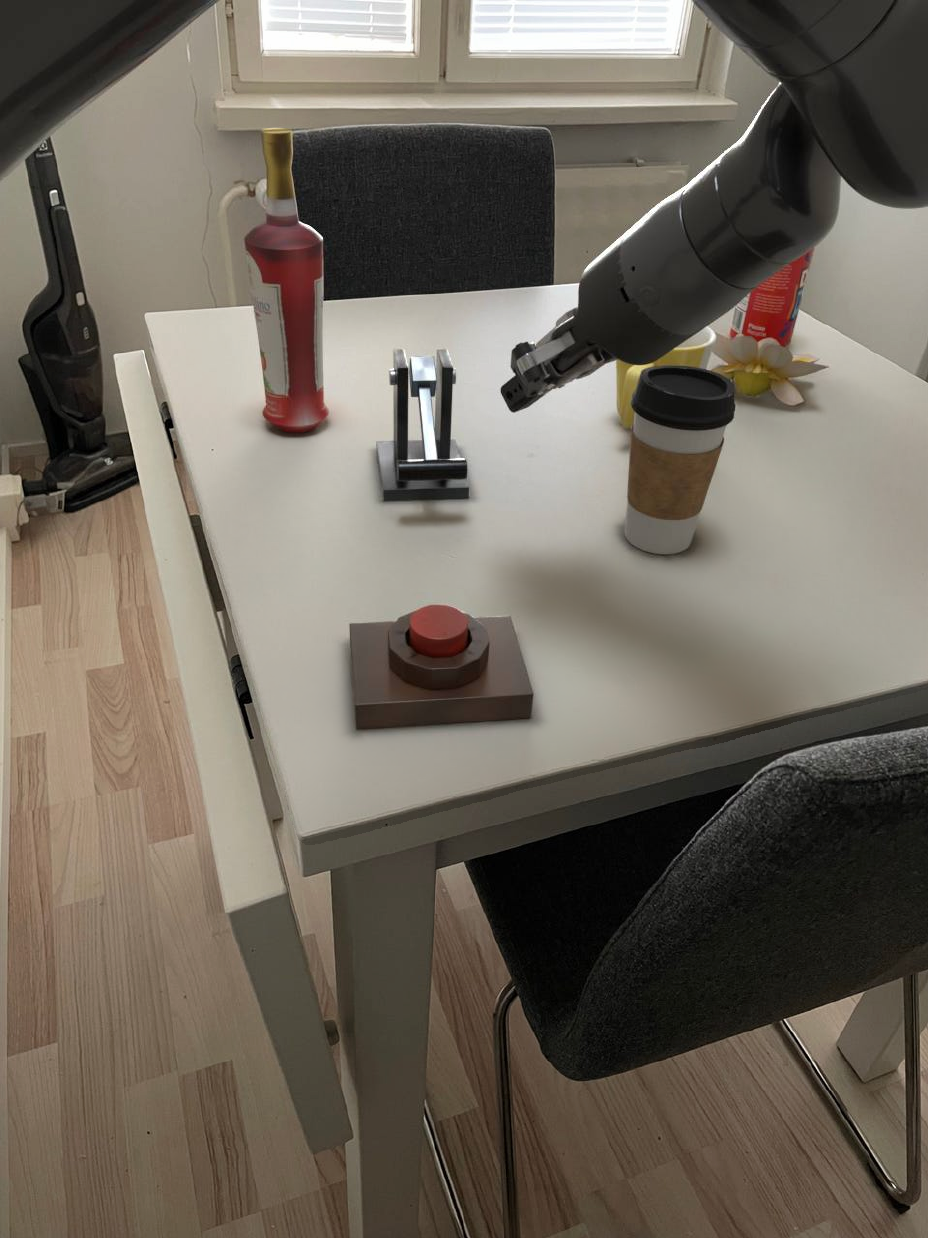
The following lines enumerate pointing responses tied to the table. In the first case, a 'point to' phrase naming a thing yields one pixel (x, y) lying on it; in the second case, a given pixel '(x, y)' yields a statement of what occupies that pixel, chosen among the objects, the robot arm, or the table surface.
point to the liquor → (287, 297)
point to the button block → (437, 676)
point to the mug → (685, 354)
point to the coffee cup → (674, 453)
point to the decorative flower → (763, 366)
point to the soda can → (773, 304)
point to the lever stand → (414, 449)
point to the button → (438, 631)
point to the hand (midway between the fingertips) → (511, 399)
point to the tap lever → (427, 430)
